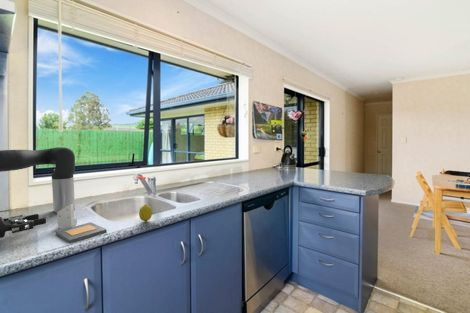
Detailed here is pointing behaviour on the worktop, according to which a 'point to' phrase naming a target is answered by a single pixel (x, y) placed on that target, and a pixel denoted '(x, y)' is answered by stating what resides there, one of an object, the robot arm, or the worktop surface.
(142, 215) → the lemon
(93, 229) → the mounting plate
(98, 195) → the worktop surface
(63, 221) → the white wedge bracket
